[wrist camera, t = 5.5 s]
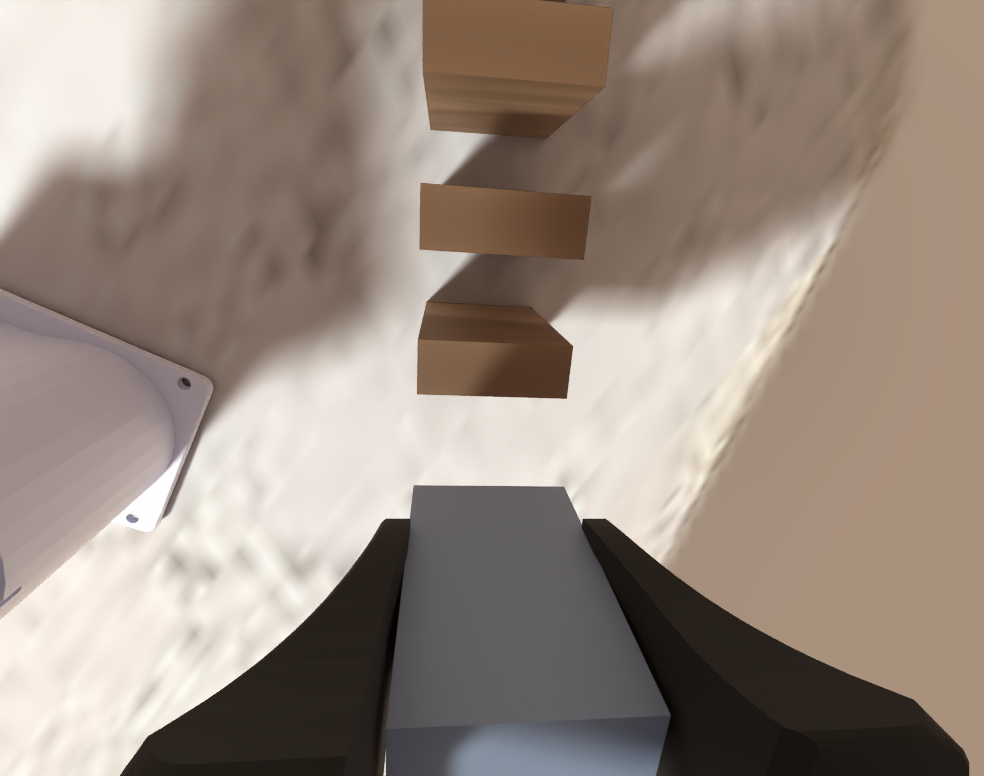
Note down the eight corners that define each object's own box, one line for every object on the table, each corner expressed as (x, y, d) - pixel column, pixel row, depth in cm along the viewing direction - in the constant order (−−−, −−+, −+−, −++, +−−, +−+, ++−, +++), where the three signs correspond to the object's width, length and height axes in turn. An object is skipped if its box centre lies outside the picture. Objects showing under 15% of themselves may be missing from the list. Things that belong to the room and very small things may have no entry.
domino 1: (546, 138, 18) (605, 86, 12) (430, 129, 18) (422, 71, 11) (550, 90, 18) (613, 8, 11) (431, 80, 17) (422, -13, 11)
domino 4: (557, 532, 15) (653, 784, 8) (413, 533, 14) (386, 803, 7) (563, 486, 14) (670, 715, 7) (413, 485, 14) (386, 729, 7)
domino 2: (536, 248, 19) (583, 259, 13) (428, 241, 19) (419, 249, 12) (540, 207, 19) (591, 196, 12) (429, 198, 18) (420, 183, 12)
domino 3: (527, 343, 21) (566, 398, 14) (425, 339, 20) (417, 394, 14) (530, 307, 20) (573, 346, 14) (426, 301, 20) (418, 339, 13)
